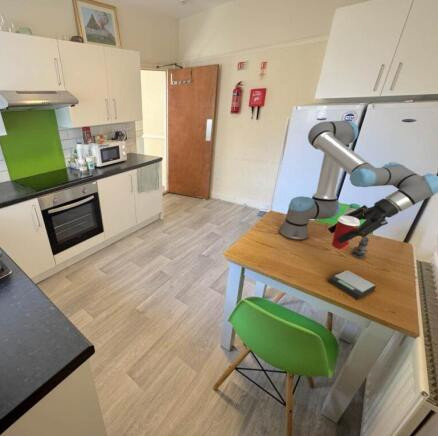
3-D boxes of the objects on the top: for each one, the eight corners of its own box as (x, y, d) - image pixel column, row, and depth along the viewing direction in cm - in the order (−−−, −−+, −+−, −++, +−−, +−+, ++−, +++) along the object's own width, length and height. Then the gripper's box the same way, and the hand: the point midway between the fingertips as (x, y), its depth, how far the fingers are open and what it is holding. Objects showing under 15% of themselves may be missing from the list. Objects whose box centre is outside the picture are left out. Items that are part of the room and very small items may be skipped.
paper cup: (353, 251, 104) (365, 223, 98) (333, 250, 105) (344, 222, 99) (343, 242, 111) (354, 215, 104) (325, 240, 112) (335, 214, 106)
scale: (344, 274, 114) (346, 269, 113) (373, 290, 104) (376, 285, 103) (328, 281, 110) (330, 276, 109) (357, 299, 100) (360, 294, 99)
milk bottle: (335, 230, 150) (346, 201, 140) (350, 233, 146) (363, 203, 136) (335, 235, 144) (347, 205, 135) (351, 239, 140) (364, 208, 131)
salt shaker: (363, 253, 128) (372, 234, 122) (366, 259, 123) (376, 240, 118) (349, 251, 130) (357, 232, 125) (352, 257, 125) (361, 237, 120)
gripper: (416, 223, 88) (351, 254, 98) (379, 201, 106) (327, 230, 116) (406, 209, 86) (341, 243, 97) (370, 189, 104) (319, 219, 115)
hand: (333, 235), depth 106 cm, fingers closed on paper cup, 8 cm apart
